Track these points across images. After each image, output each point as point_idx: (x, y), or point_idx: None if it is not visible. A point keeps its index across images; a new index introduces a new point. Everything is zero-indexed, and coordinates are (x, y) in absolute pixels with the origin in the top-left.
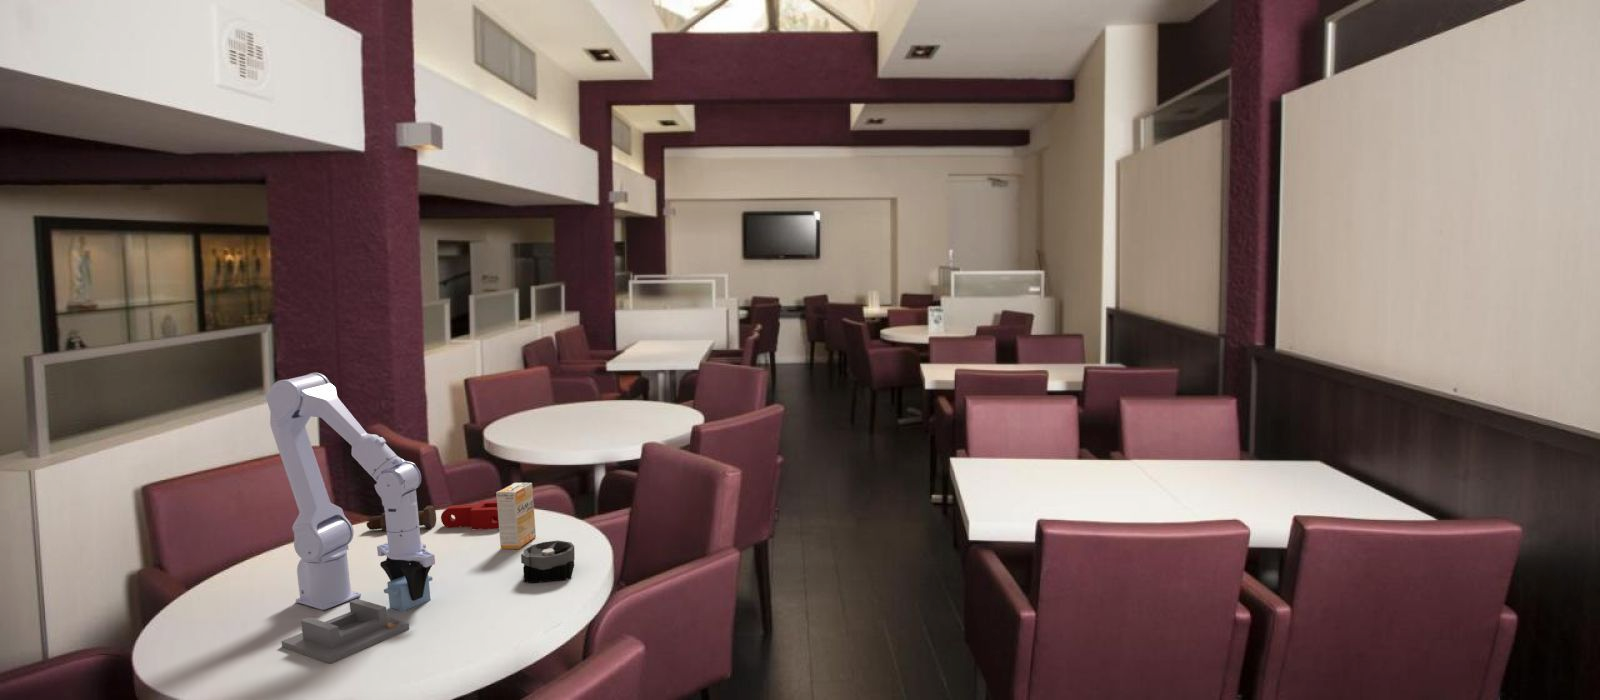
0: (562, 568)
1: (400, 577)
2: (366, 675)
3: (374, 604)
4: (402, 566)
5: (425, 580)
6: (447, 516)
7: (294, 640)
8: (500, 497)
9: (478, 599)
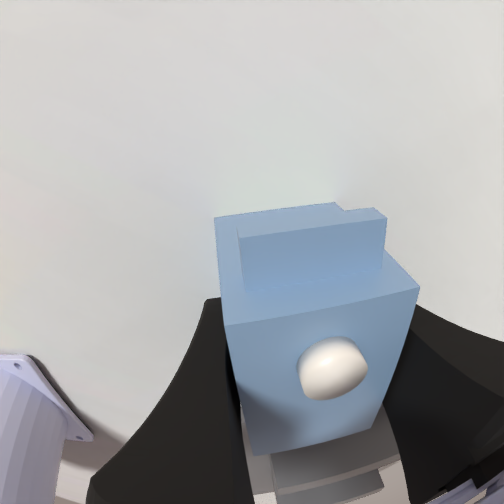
0: None
1: (249, 417)
2: None
3: (376, 463)
4: (243, 472)
5: (437, 320)
6: None
7: (263, 490)
8: None
9: (498, 95)
